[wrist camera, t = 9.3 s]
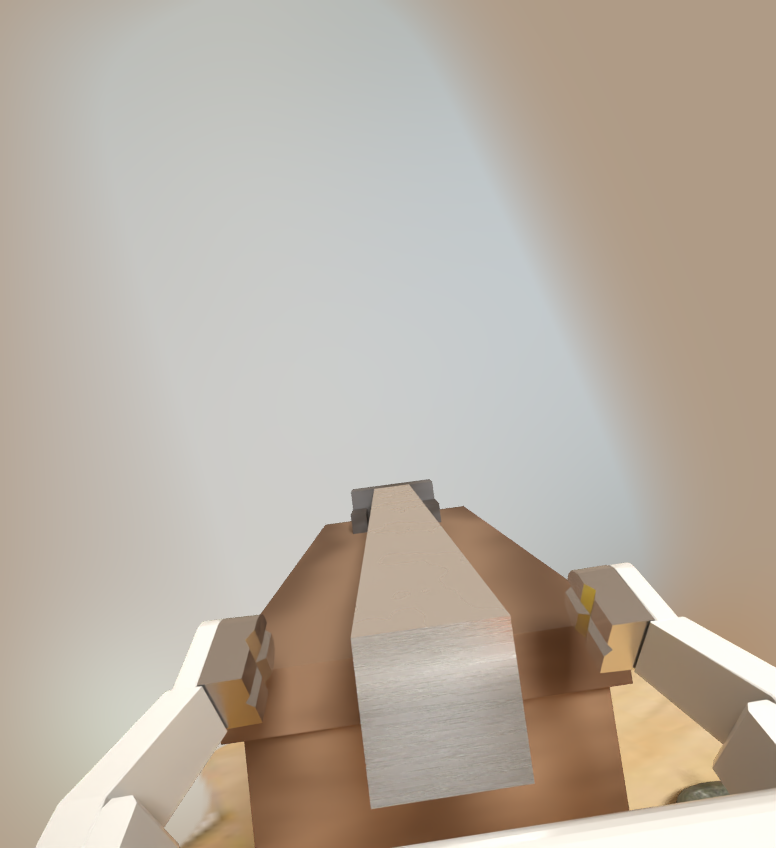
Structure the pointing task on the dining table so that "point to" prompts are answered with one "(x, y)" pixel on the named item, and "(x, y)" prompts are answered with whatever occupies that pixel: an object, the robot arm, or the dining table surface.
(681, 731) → the dining table surface
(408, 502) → the aluminium bar
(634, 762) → the dining table surface
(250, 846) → the dining table surface
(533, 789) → the walnut stand
